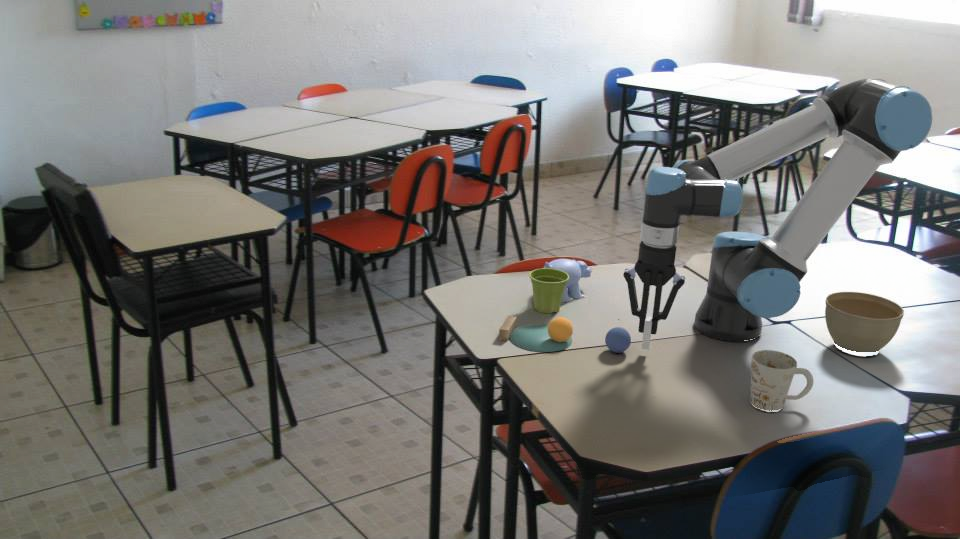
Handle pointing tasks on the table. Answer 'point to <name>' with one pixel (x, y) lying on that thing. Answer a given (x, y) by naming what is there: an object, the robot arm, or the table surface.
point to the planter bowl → (862, 320)
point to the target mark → (536, 339)
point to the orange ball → (560, 329)
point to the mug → (774, 379)
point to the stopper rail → (507, 328)
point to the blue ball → (618, 339)
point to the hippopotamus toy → (571, 276)
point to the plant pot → (548, 288)
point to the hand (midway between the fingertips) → (645, 346)
